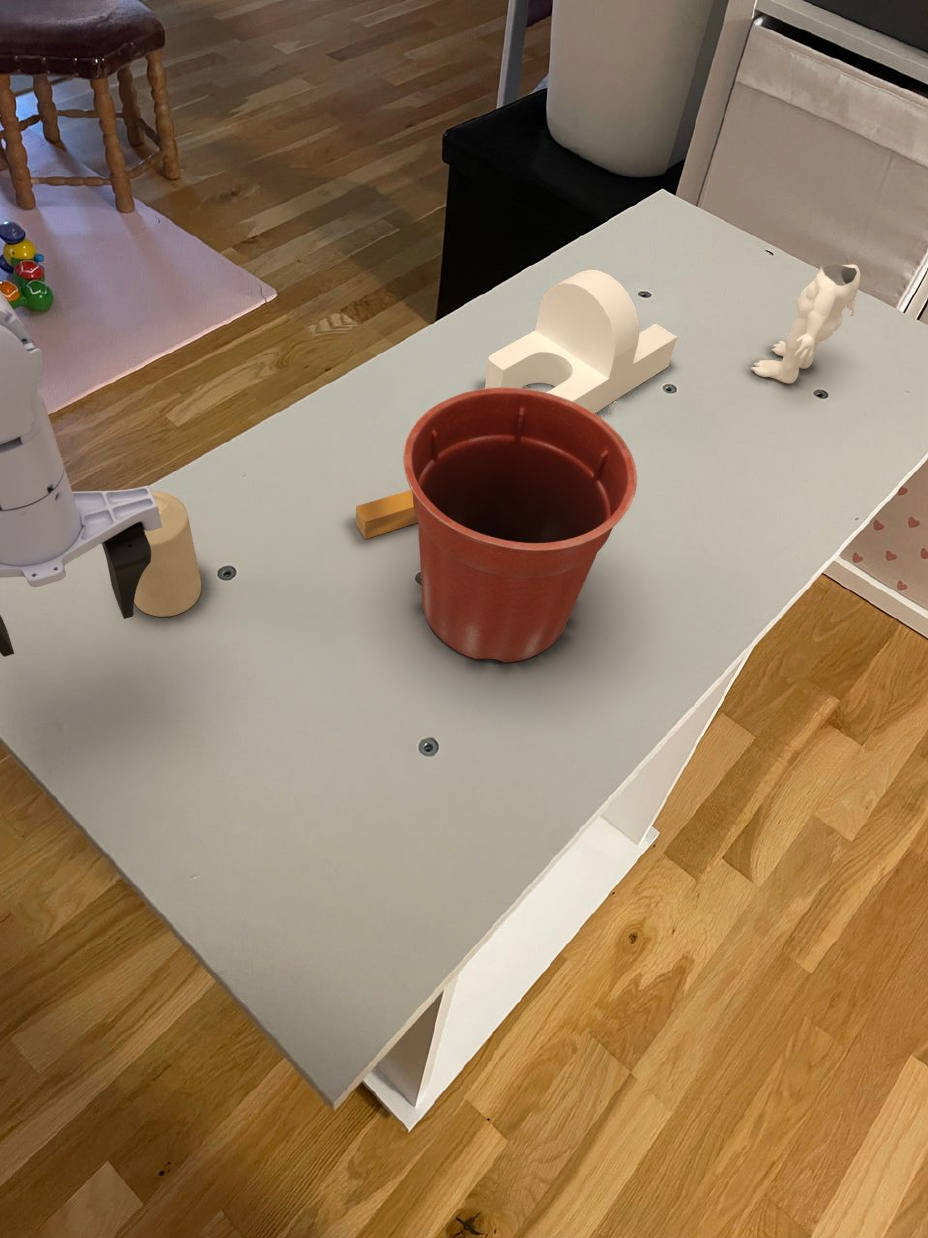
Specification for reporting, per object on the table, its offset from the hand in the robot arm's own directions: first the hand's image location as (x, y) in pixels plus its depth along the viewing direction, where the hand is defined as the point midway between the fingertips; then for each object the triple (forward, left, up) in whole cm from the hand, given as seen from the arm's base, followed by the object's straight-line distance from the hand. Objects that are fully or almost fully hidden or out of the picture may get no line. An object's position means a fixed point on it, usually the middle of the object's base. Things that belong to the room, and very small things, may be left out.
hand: (66, 625), depth 65 cm
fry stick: (+32, +9, -10) cm, 34 cm away
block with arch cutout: (+54, +20, -10) cm, 58 cm away
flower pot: (+32, -3, -10) cm, 33 cm away
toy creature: (+76, +13, -10) cm, 77 cm away
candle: (+8, +9, -10) cm, 15 cm away
